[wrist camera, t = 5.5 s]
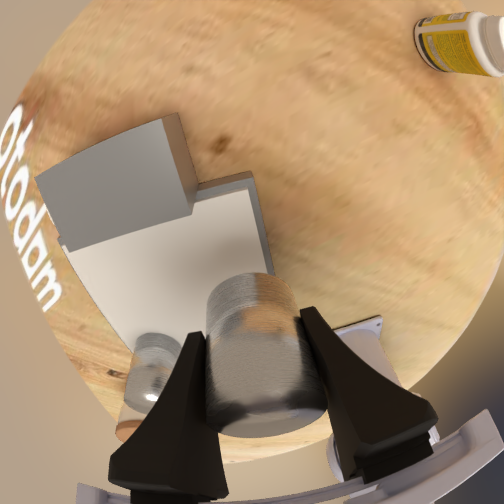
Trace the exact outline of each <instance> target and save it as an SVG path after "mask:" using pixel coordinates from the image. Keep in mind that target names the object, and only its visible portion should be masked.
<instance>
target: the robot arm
mask: <svg viewBox="0 0 504 504" xmlns="http://www.w3.org/2000/svg"><path fill="white" fill-rule="evenodd" d="M300 317H301V320H302V323H303V326H304V329H305V332H306V335H307V338H308V341H309V344H310V347H311V349H312V352H313V356H314V359H315V362H316V365H317V368H318V371H319V374H320V377H321V381H322V384H323V387H324V390H325V393H326V397H327V400H328V408H327V410H328V414H329V418H330V422H331V426H332V430H333V433H332V434H331V435H330V437H329V440H328V443H327V447H326V454H327V459H328V463H329V466H330V468H331V470H332V472H333V474H334V475H335V477H336V478H337V479H338V480H339V481H340V482H341V483H339V484H335V485H332V486H328V487H324V488H320V489H316V490H312V491H307V492H303V493H298V494H292V495H287V496H281V497H274V498H266V499H259V500H248V501H235V502H210V500H217V499H220V498H221V499H222V498H225V497H226V496H227V495H228V494H229V491H228V487H227V483H226V478H225V474H224V469H223V463H222V458H221V452H220V445H219V438H218V432H216V431H214V430H213V429H211V428H210V427H209V426H208V425H207V422H206V390H205V352H206V339H205V337H204V335H203V333H202V331H196V332H191V333H188V334H187V337H186V339H185V342H184V344H183V347H182V349H181V352H180V354H179V357H178V359H177V361H176V364H175V366H174V368H173V370H172V373H171V375H170V377H169V379H168V381H167V383H166V385H165V386H164V388H163V390H162V392H161V394H160V396H159V397H158V399H157V401H156V402H155V404H154V406H153V407H152V409H151V410H150V412H149V413H148V414H147V416H146V417H145V419H144V420H143V421H142V423H141V424H140V425H139V427H138V428H137V429H136V430H135V431H134V432H133V434H132V435H131V436H130V437H129V438H128V439H127V440H126V441H125V442H124V444H122V445H121V446H120V448H118V449H117V450H116V451H115V452H114V453H113V454H112V455H111V457H110V462H109V474H108V480H109V482H111V483H112V484H115V485H118V486H120V487H123V488H126V489H129V490H131V493H130V495H131V496H127V495H121V494H116V493H111V492H107V491H105V490H103V489H100V488H96V487H93V486H89V485H85V484H82V483H78V484H77V495H76V504H314V503H319V502H323V501H327V500H331V499H335V498H338V497H341V496H345V495H350V498H351V499H348V500H346V501H344V504H434V501H436V500H438V499H439V498H441V497H442V496H444V495H445V494H447V493H448V492H450V491H451V490H453V489H454V488H455V487H457V486H458V485H460V484H461V483H463V482H464V481H465V480H467V479H468V478H469V477H471V476H472V475H473V474H475V473H476V472H477V471H478V470H480V469H481V468H482V467H483V466H485V465H486V464H487V463H488V462H490V461H491V460H492V459H493V458H495V457H496V456H497V455H498V454H499V453H500V452H502V451H503V450H504V444H503V441H502V439H501V437H500V435H499V432H498V430H497V428H496V426H495V424H494V422H493V419H492V418H491V415H490V413H489V411H488V409H485V410H483V411H482V412H481V413H479V414H478V415H477V416H475V417H474V418H472V419H471V420H469V421H468V422H467V423H465V424H464V425H463V426H462V427H460V429H459V430H457V431H456V432H454V433H453V434H451V435H449V436H448V437H446V438H444V439H443V440H441V441H440V440H439V435H438V432H437V430H436V427H435V424H436V423H437V421H438V416H437V414H436V412H435V411H434V409H433V407H432V406H431V405H430V403H429V402H428V401H427V400H425V399H423V398H421V396H420V394H417V393H414V392H412V393H411V392H409V391H407V390H405V389H404V388H402V386H401V384H400V382H399V380H398V377H397V375H396V373H395V371H394V369H393V367H392V365H391V363H390V361H389V359H388V357H387V355H386V353H385V351H384V349H383V348H382V346H381V344H380V342H379V338H380V333H381V328H382V322H383V318H382V317H381V316H378V317H375V318H372V319H369V320H366V321H363V322H360V323H357V324H354V325H350V326H347V327H344V328H341V329H337V330H334V331H333V330H332V329H331V327H330V326H329V325H328V324H327V323H326V321H325V320H324V319H323V317H322V316H321V315H320V313H319V312H318V311H317V309H316V307H314V306H312V307H308V308H304V309H300Z"/></svg>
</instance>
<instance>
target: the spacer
mask: <svg viewBox="0 0 504 504" xmlns="http://www.w3.org/2000/svg"><path fill="white" fill-rule="evenodd" d="M205 390H206V422H207V425H208V426H209V427H210V428H211V429H213V430H214V431H216V432H218V433H221V434H224V435H228V436H233V437H240V438H262V437H270V436H276V435H281V434H285V433H289V432H292V431H295V430H298V429H300V428H303V427H305V426H307V425H309V424H311V423H312V422H314V421H316V420H317V419H318V418H320V417H321V416H322V415H323V414H324V413H325V411H326V410H327V408H328V400H327V397H326V393H325V390H324V387H323V384H322V381H321V377H320V374H319V371H318V368H317V365H316V362H315V359H314V356H313V352H312V349H311V347H310V344H309V341H308V338H307V335H306V332H305V329H304V326H303V323H302V320H301V317H300V313H299V310H298V307H297V304H296V301H295V298H294V295H293V293H292V291H291V289H290V287H289V286H288V285H287V284H286V283H285V282H284V281H282V280H281V279H279V278H278V277H275V276H273V275H270V274H266V273H258V272H251V273H243V274H239V275H235V276H232V277H230V278H228V279H226V280H224V281H223V282H221V283H220V284H218V285H217V286H216V287H215V288H214V289H213V291H212V292H211V294H210V295H209V297H208V300H207V304H206V352H205Z"/></svg>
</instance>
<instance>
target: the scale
mask: <svg viewBox="0 0 504 504" xmlns="http://www.w3.org/2000/svg"><path fill="white" fill-rule="evenodd" d="M34 178H35V181H36V183H37V186H38V188H39V191H40V193H41V195H42V198H43V200H44V202H45V205H46V209H47V212H48V215H49V217H50V219H51V221H52V222H53V224H54V225H55V226H56V228H57V230H58V232H59V234H60V236H59V237H58V238H57V240H58V242H59V244H60V246H61V248H62V250H63V251H64V253H65V255H66V257H67V259H68V260H69V262H70V264H71V266H72V267H73V269H74V271H75V272H76V274H77V276H78V277H79V279H80V281H81V282H82V284H83V286H84V287H85V289H86V290H87V292H88V293H89V295H90V296H91V298H92V299H93V301H94V302H95V304H96V305H97V307H98V308H99V310H100V311H101V313H102V314H103V316H104V317H105V318H106V320H107V321H108V323H109V324H110V325H111V327H112V328H113V329H114V331H115V332H116V333H117V335H118V336H119V337H120V339H121V340H122V341H123V343H124V344H125V345H126V346H127V348H128V349H129V350H130V351H131V353H132V354H133V351H134V347H135V342H136V339H137V338H138V337H139V336H140V335H142V334H145V333H161V334H165V335H168V336H170V337H172V338H174V339H175V340H176V341H178V342H179V344H180V345H181V347H183V344H184V342H185V339H186V337H187V334H188V333H191V332H196V331H202V333H203V335H204V337H205V339H206V304H207V300H208V297H209V295H210V294H211V292H212V291H213V289H214V288H215V287H216V286H217V285H218V284H220V283H221V282H223V281H224V280H226V279H228V278H230V277H232V276H235V275H239V274H243V273H251V272H258V273H266V274H270V275H273V276H275V274H274V269H273V264H272V260H271V255H270V250H269V246H268V241H267V236H266V232H265V227H264V223H263V218H262V214H261V209H260V205H259V200H258V196H257V191H256V187H255V183H254V178H253V175H252V173H251V171H248V172H244V173H240V174H236V175H231V176H228V177H224V178H220V179H216V180H212V181H208V182H205V183H201V184H199V183H198V180H197V176H196V173H195V170H194V166H193V163H192V160H191V156H190V153H189V150H188V146H187V143H186V139H185V136H184V132H183V129H182V125H181V122H180V118H179V115H178V113H175V114H172V115H169V116H166V117H163V118H160V119H157V120H154V121H151V122H149V123H146V124H143V125H141V126H138V127H135V128H133V129H130V130H128V131H125V132H123V133H120V134H118V135H116V136H113V137H111V138H109V139H107V140H104V141H102V142H100V143H98V144H96V145H93V146H91V147H89V148H87V149H85V150H83V151H81V152H79V153H77V154H75V155H73V156H71V157H69V158H68V159H66V160H64V161H62V162H60V163H58V164H57V165H55V166H53V167H51V168H50V169H48V170H46V171H44V172H43V173H41V174H39V175H38V176H36V177H34Z"/></svg>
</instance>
